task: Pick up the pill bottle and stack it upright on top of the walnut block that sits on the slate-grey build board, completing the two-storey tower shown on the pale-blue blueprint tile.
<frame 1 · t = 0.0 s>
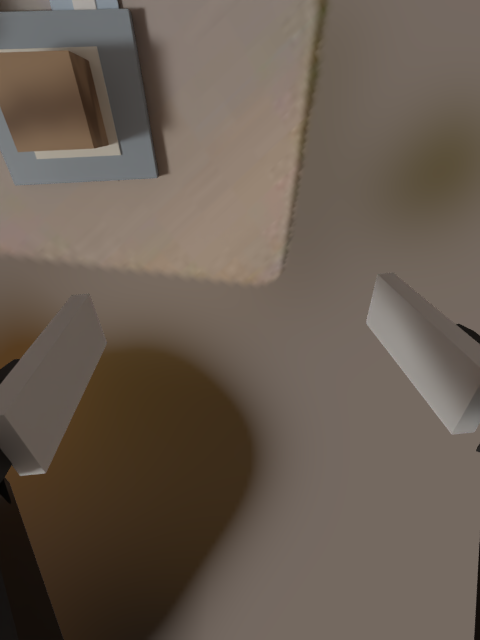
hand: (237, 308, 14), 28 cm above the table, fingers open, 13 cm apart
build board: (69, 107, 32), on the table
walnut block: (64, 107, 31), point 1 cm above the table, touching build board
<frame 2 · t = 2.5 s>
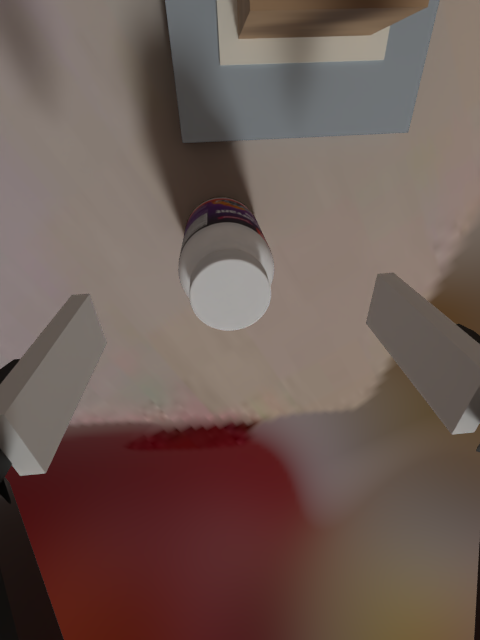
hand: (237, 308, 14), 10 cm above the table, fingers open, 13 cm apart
pill bottle: (221, 232, 23), on the table
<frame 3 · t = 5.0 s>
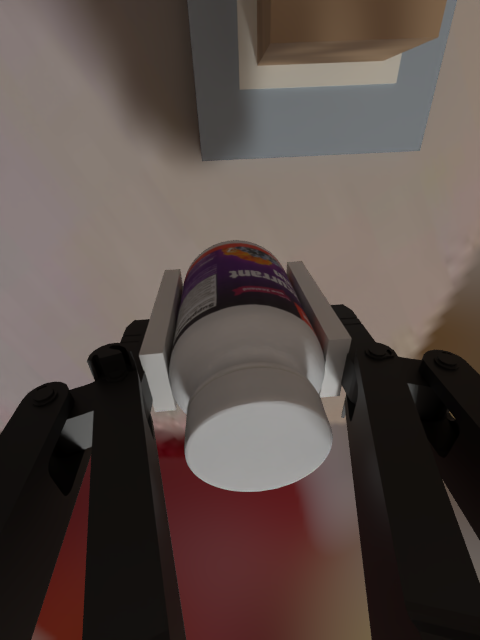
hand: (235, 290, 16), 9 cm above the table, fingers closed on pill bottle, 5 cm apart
pill bottle: (234, 284, 16), point 8 cm above the table, touching gripper
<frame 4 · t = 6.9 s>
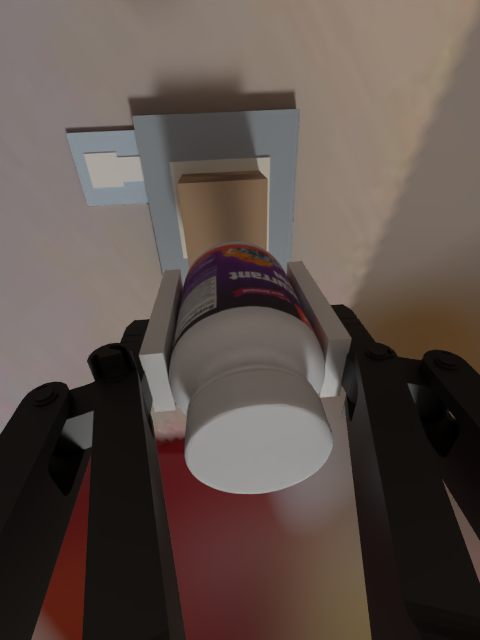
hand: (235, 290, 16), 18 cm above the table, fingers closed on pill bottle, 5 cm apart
build board: (222, 208, 31), on the table
walnut block: (223, 211, 29), point 1 cm above the table, touching build board
pill bottle: (234, 285, 16), point 17 cm above the table, touching gripper
blueprint tile: (123, 169, 28), on the table
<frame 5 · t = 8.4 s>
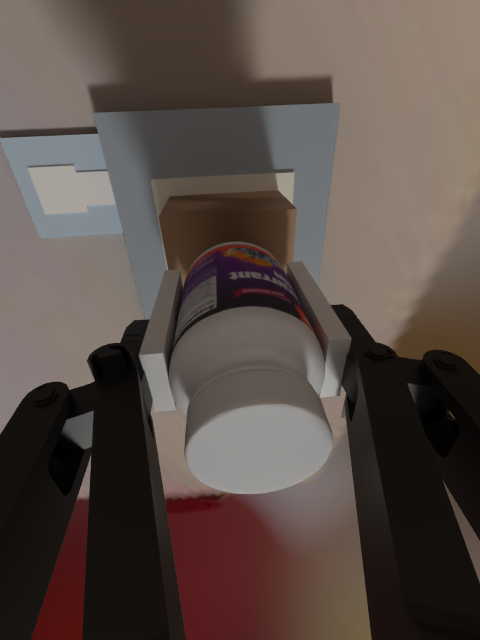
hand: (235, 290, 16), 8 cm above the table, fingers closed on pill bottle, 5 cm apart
build board: (226, 239, 22), on the table
walnut block: (227, 245, 21), point 1 cm above the table, touching build board
pill bottle: (234, 286, 16), point 8 cm above the table, touching gripper
blueprint tile: (86, 188, 20), on the table
when the fingers open (7 cm above the table, at t = 9.0 s): pill bottle stays where it is, resting on walnut block.
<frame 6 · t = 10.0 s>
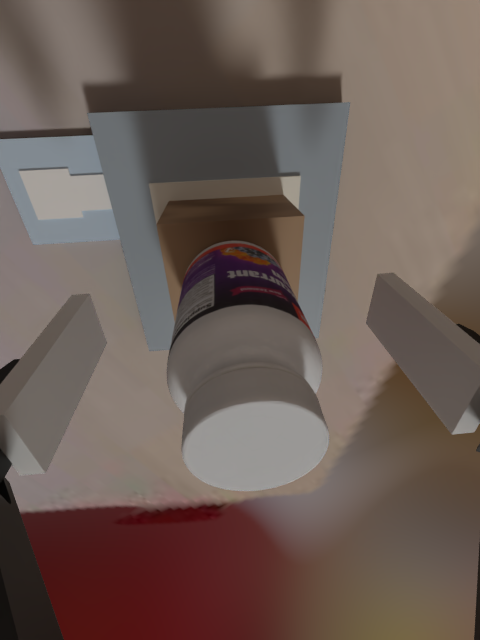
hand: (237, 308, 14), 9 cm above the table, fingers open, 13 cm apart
build board: (228, 245, 21), on the table
walnut block: (229, 252, 20), point 1 cm above the table, touching build board, pill bottle
pill bottle: (233, 285, 16), point 6 cm above the table, touching walnut block
blueprint tile: (81, 192, 19), on the table
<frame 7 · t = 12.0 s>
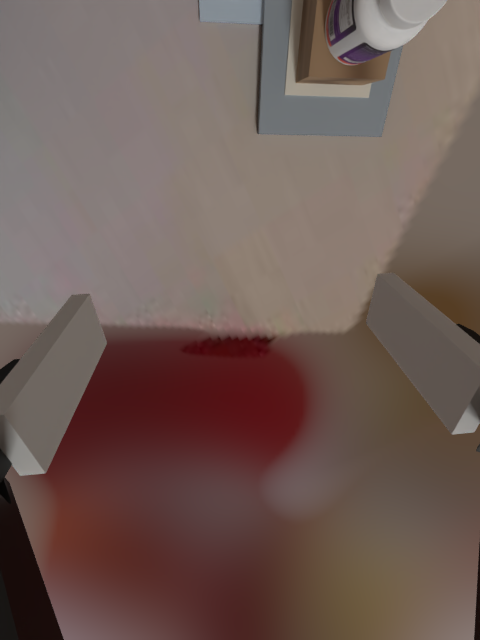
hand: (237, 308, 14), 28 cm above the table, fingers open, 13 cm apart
build board: (330, 41, 30), on the table
walnut block: (335, 38, 29), point 1 cm above the table, touching build board, pill bottle
pill bottle: (354, 24, 25), point 6 cm above the table, touching walnut block
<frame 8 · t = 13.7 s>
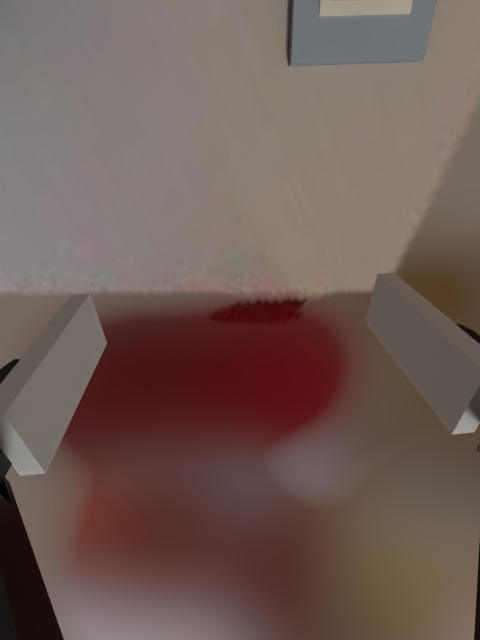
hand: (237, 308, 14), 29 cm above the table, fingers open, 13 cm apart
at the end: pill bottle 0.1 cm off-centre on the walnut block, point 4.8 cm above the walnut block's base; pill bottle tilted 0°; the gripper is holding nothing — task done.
